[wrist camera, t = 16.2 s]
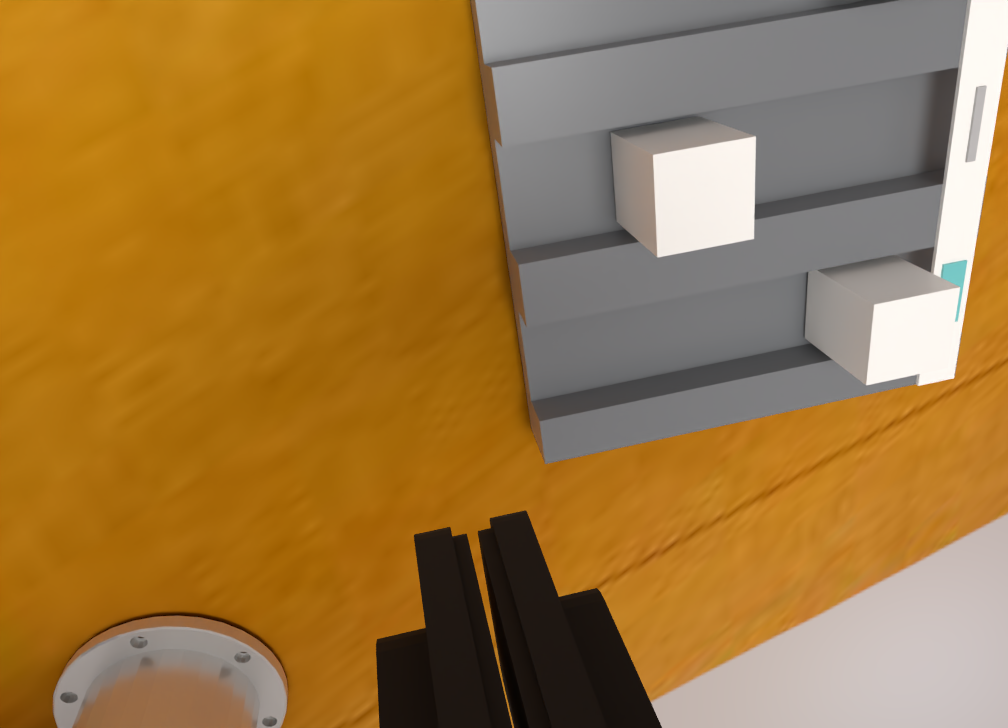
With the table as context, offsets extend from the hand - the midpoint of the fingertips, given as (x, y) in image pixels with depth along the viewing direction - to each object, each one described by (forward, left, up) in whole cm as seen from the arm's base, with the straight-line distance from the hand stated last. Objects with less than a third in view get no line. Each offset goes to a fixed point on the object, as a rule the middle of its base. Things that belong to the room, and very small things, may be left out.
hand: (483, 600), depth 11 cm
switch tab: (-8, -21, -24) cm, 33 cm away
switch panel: (0, -15, -25) cm, 30 cm away
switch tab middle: (-1, -11, -24) cm, 26 cm away
